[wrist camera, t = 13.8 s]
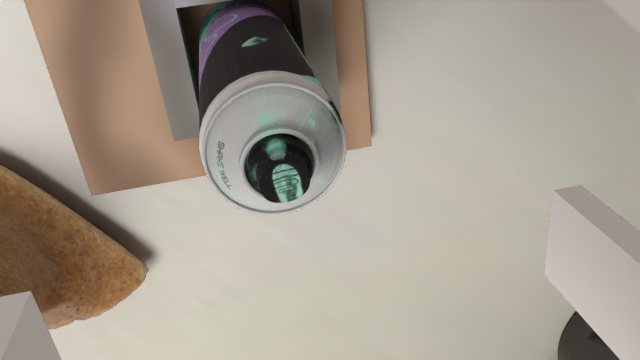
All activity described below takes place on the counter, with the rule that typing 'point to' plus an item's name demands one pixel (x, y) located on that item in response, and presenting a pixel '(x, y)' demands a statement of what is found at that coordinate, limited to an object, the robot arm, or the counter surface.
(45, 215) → the tan boot-shaped piece
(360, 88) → the socket board
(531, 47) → the counter surface
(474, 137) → the counter surface
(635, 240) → the robot arm
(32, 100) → the counter surface
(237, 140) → the spray can
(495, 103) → the counter surface
